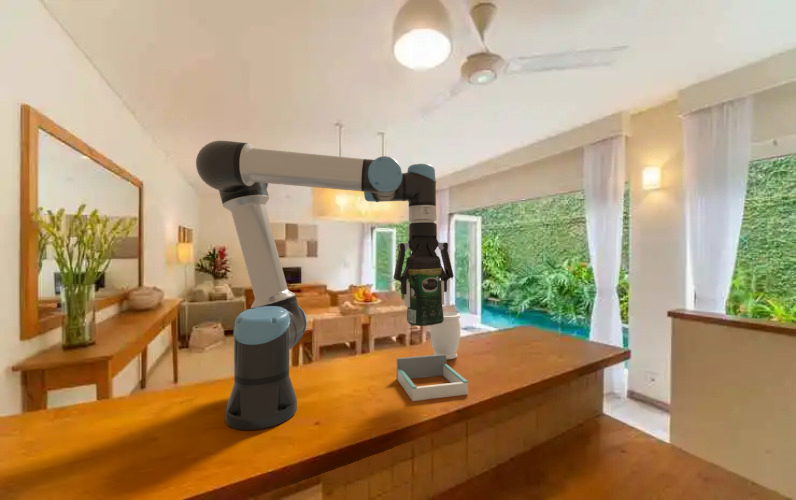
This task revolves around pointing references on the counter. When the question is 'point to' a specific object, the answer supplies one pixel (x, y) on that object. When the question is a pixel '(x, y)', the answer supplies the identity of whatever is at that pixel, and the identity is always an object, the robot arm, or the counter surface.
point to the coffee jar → (424, 291)
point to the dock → (429, 368)
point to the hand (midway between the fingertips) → (424, 305)
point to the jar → (446, 335)
